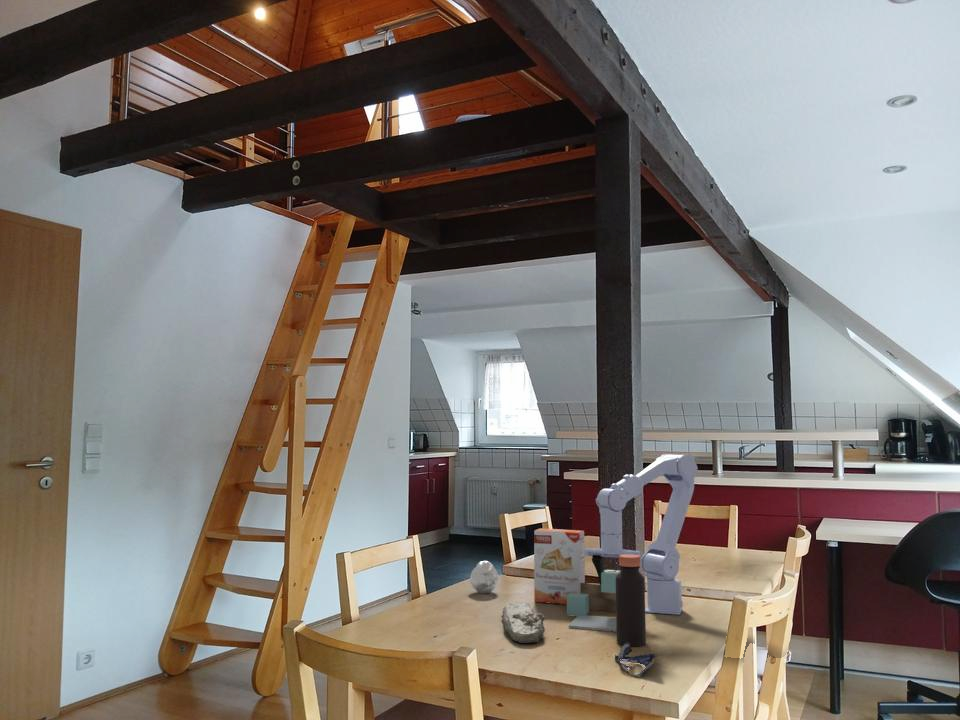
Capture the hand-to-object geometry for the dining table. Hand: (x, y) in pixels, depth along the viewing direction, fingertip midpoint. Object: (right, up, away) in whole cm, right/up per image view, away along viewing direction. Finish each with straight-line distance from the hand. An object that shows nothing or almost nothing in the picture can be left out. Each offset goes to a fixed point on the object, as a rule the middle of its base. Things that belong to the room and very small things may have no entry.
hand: (612, 584), depth 200 cm
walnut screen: (-1, -9, +7) cm, 12 cm away
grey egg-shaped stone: (-34, -12, +30) cm, 47 cm away
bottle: (0, -6, -26) cm, 27 cm away
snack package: (-3, -4, -45) cm, 45 cm away
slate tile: (-6, -8, -9) cm, 13 cm away
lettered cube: (0, -2, 0) cm, 2 cm away
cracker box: (-12, -11, +17) cm, 24 cm away
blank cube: (-9, -9, +3) cm, 13 cm away
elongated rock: (-25, -8, -11) cm, 28 cm away
